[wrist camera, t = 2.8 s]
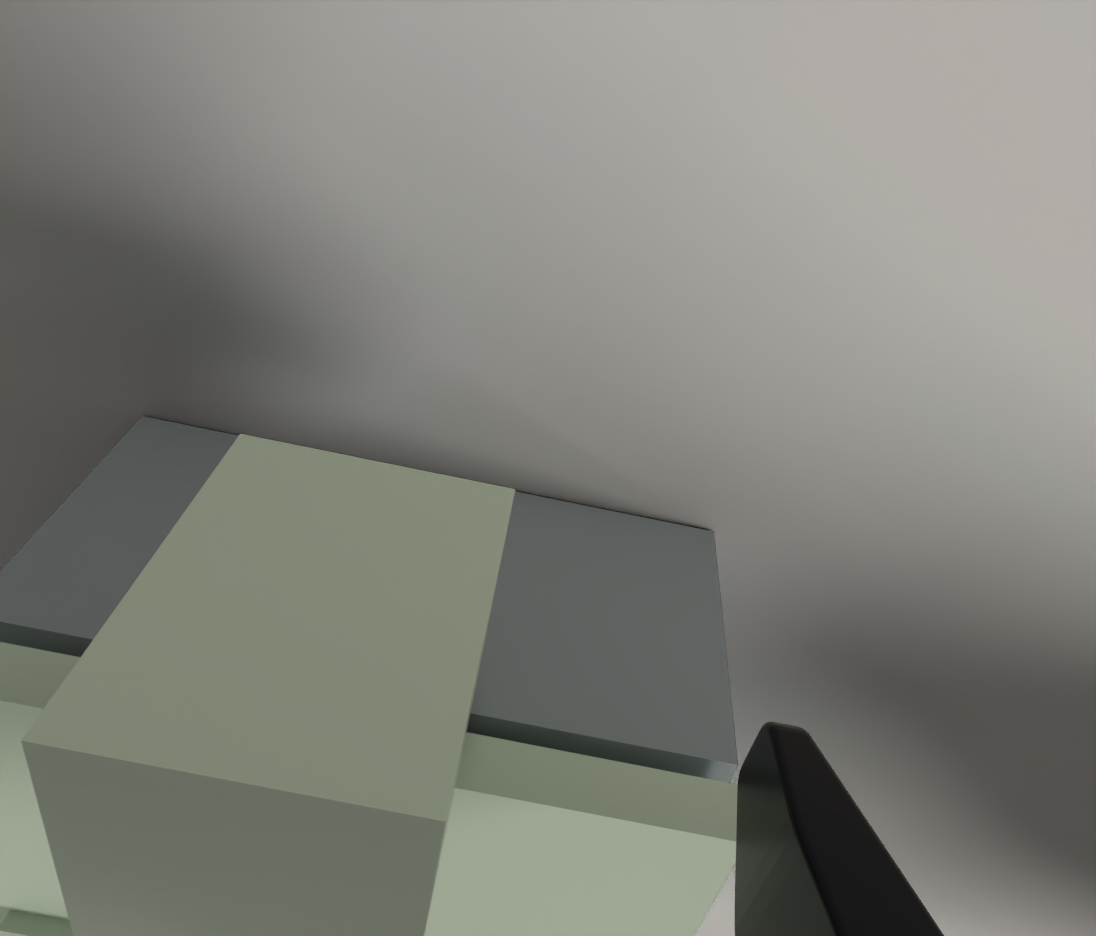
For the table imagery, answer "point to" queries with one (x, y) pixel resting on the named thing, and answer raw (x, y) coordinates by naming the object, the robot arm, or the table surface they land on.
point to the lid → (324, 739)
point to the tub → (514, 625)
